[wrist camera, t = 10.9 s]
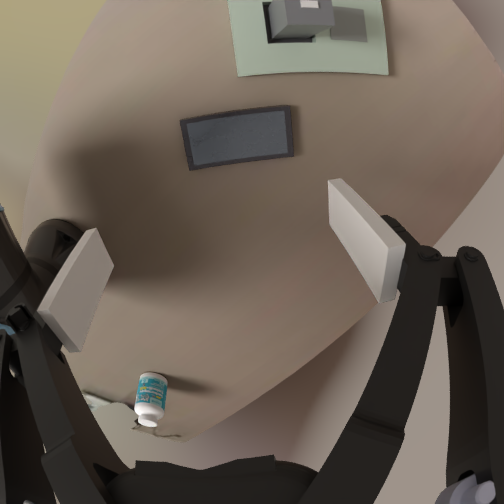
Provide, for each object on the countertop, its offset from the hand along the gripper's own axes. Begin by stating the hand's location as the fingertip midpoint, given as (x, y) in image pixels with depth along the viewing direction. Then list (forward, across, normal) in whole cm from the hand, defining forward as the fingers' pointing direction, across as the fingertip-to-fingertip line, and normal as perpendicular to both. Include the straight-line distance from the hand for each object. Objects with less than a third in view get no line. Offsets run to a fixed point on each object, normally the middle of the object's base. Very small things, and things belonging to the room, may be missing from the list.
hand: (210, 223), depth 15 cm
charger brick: (+24, +11, +14) cm, 30 cm away
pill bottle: (+26, -29, -53) cm, 66 cm away
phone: (+25, +3, 0) cm, 25 cm away
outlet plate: (+24, +14, +14) cm, 32 cm away
